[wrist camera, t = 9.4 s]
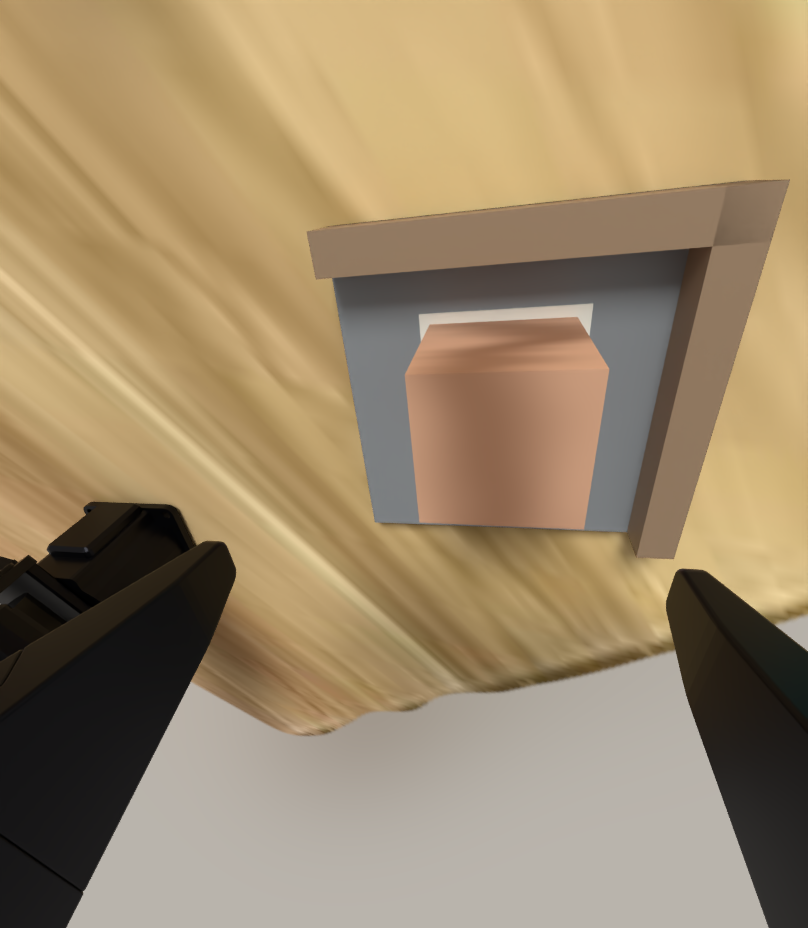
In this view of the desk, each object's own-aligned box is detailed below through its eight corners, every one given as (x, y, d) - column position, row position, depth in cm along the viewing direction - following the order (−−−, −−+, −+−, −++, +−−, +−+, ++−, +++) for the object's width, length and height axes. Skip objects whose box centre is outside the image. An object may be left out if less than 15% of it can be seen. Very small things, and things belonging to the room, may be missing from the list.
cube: (577, 316, 16) (609, 368, 11) (563, 446, 19) (584, 529, 14) (429, 324, 17) (404, 375, 12) (437, 445, 20) (419, 522, 15)
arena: (656, 522, 21) (673, 559, 19) (378, 512, 24) (367, 543, 22) (745, 181, 14) (789, 179, 12) (330, 226, 17) (306, 231, 15)
